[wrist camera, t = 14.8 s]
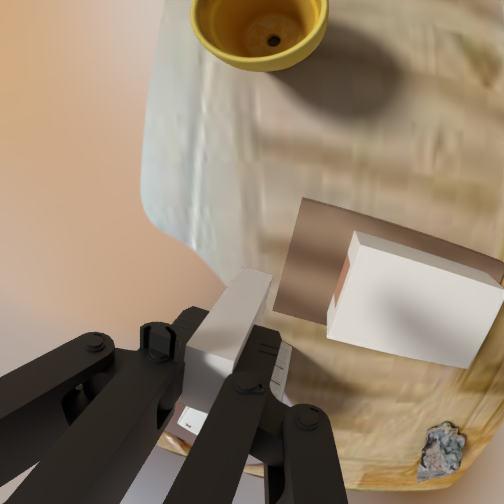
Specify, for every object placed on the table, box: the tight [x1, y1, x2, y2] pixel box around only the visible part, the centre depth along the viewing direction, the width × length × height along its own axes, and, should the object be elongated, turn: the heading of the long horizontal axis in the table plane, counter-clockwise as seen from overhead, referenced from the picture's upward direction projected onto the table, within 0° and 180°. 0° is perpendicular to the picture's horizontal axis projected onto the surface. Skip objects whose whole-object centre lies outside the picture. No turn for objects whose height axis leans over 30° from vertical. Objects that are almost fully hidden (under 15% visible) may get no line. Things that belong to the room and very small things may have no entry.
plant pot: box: [190, 0, 329, 72], centre depth 22 cm, size 10×10×10 cm
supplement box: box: [177, 341, 292, 435], centre depth 32 cm, size 7×7×13 cm
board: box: [272, 197, 504, 325], centre depth 29 cm, size 12×24×4 cm, turn 78°
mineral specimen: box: [417, 422, 465, 482], centre depth 34 cm, size 10×8×10 cm
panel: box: [327, 230, 504, 369], centre depth 28 cm, size 9×16×5 cm, turn 77°
